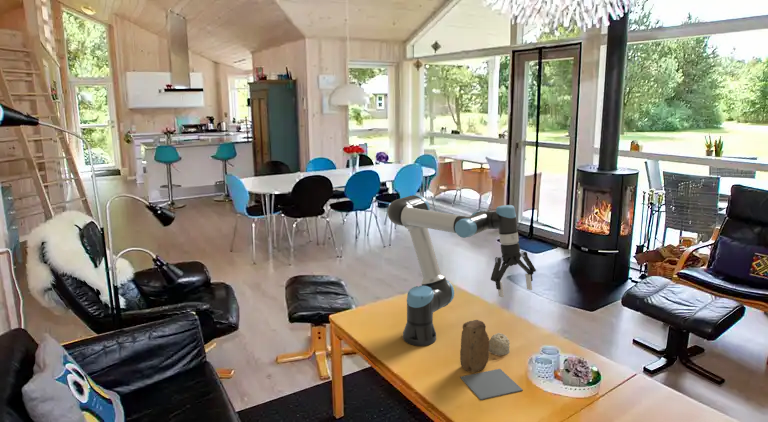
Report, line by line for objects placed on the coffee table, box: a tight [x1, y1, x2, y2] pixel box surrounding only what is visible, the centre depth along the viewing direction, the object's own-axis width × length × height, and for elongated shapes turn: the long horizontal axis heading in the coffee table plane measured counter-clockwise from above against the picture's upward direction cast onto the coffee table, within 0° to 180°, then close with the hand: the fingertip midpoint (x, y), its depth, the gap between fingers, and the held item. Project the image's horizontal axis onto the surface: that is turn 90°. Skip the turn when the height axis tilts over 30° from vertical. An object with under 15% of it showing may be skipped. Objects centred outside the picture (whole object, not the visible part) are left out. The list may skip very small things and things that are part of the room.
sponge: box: [489, 332, 511, 357], centre depth 230 cm, size 9×10×10 cm
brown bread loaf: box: [459, 319, 490, 373], centre depth 214 cm, size 11×8×20 cm
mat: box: [459, 368, 523, 401], centre depth 204 cm, size 16×18×1 cm
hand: (515, 293), depth 219 cm, fingers open, 13 cm apart
